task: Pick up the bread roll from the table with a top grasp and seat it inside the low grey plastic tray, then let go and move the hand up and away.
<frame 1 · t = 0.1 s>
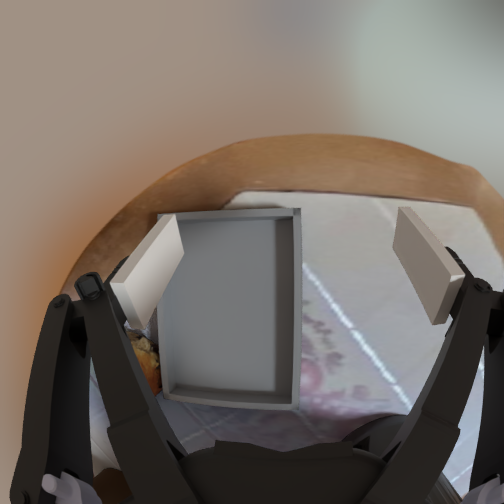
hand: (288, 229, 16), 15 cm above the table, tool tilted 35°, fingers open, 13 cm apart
olive oil: (124, 485, 32), on the table
bread roll: (138, 363, 33), on the table
tray: (231, 310, 31), on the table
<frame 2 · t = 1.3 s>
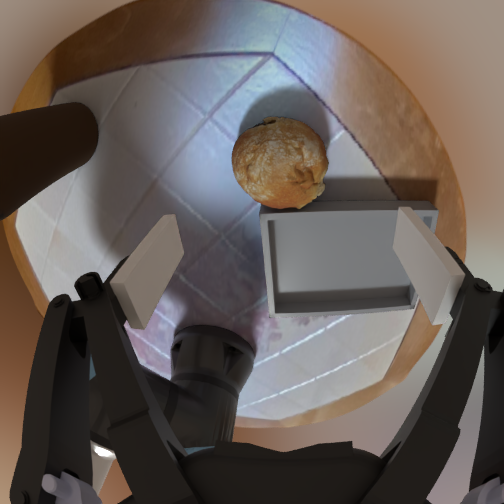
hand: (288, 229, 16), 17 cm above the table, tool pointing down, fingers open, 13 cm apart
olive oil: (74, 133, 30), on the table
bread roll: (282, 160, 30), on the table
tray: (347, 256, 35), on the table
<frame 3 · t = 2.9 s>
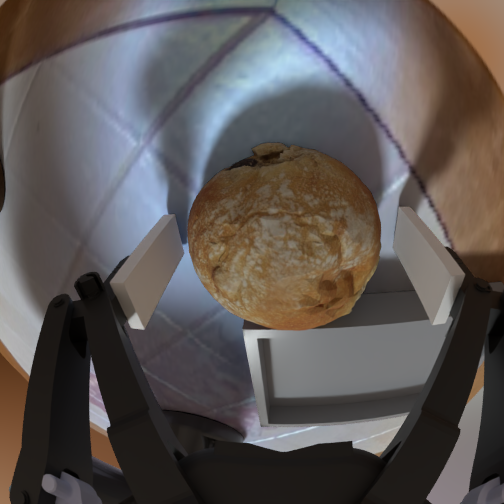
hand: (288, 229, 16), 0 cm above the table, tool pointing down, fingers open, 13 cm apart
bread roll: (290, 227, 16), on the table
tray: (378, 358, 22), on the table
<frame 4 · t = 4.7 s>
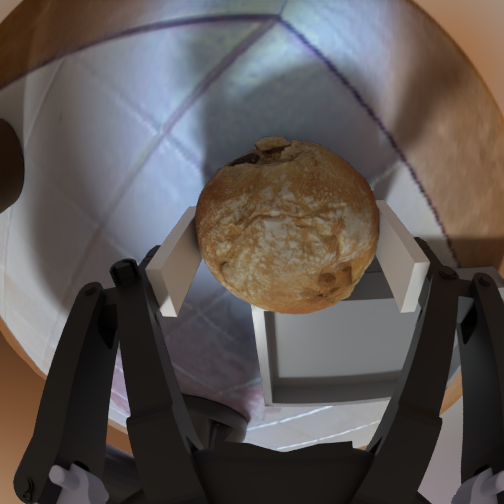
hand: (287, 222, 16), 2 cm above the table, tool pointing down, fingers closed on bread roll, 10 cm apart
olive oil: (1, 160, 18), on the table
bread roll: (292, 214, 17), point 1 cm above the table, touching gripper
tray: (376, 338, 23), on the table
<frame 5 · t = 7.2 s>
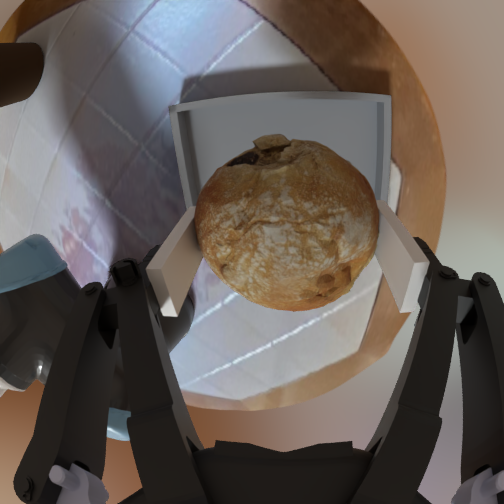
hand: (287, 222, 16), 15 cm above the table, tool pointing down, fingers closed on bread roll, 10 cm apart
olive oil: (26, 71, 23), on the table
bread roll: (292, 209, 17), point 14 cm above the table, touching gripper
tray: (284, 163, 29), on the table
when the fingers open (1 cm above the table, at t = 10.0 s): bread roll stays where it is, resting on tray.
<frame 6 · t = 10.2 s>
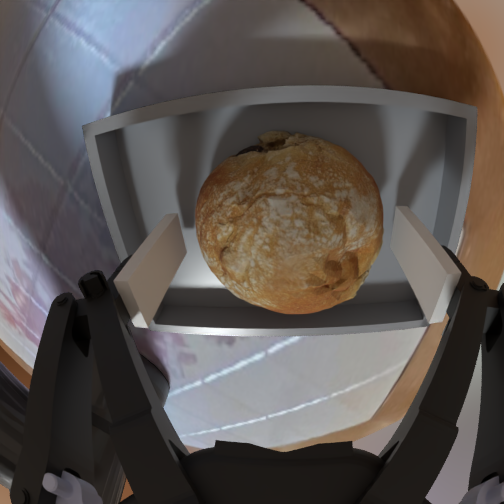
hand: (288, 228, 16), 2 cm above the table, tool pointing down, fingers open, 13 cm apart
bread roll: (294, 214, 17), point 1 cm above the table, touching tray
tray: (287, 214, 17), on the table
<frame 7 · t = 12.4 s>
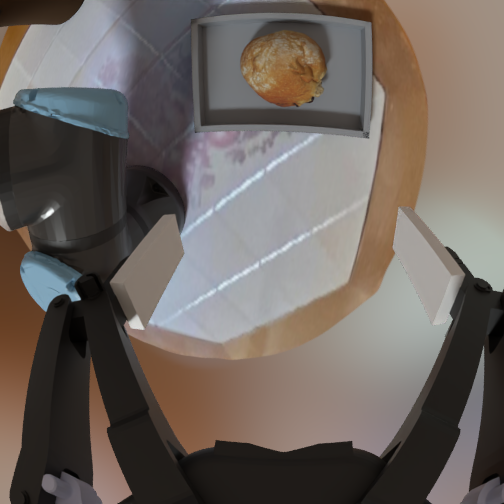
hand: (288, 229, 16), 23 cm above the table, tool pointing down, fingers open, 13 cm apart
olive oil: (67, 1, 23), on the table
bread roll: (285, 69, 29), point 1 cm above the table, touching tray
tray: (282, 71, 30), on the table
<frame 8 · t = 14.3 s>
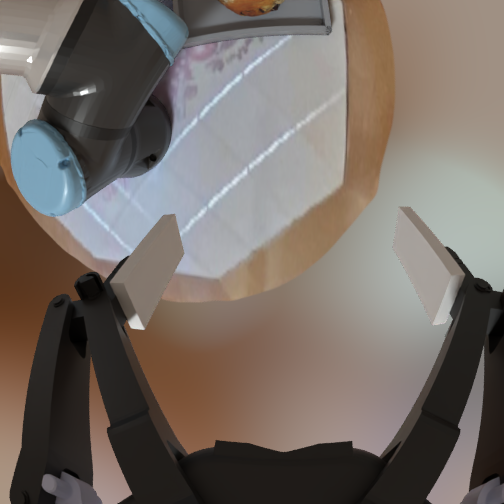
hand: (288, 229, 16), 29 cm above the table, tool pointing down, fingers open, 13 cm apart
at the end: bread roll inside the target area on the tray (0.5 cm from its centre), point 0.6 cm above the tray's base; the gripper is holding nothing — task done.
